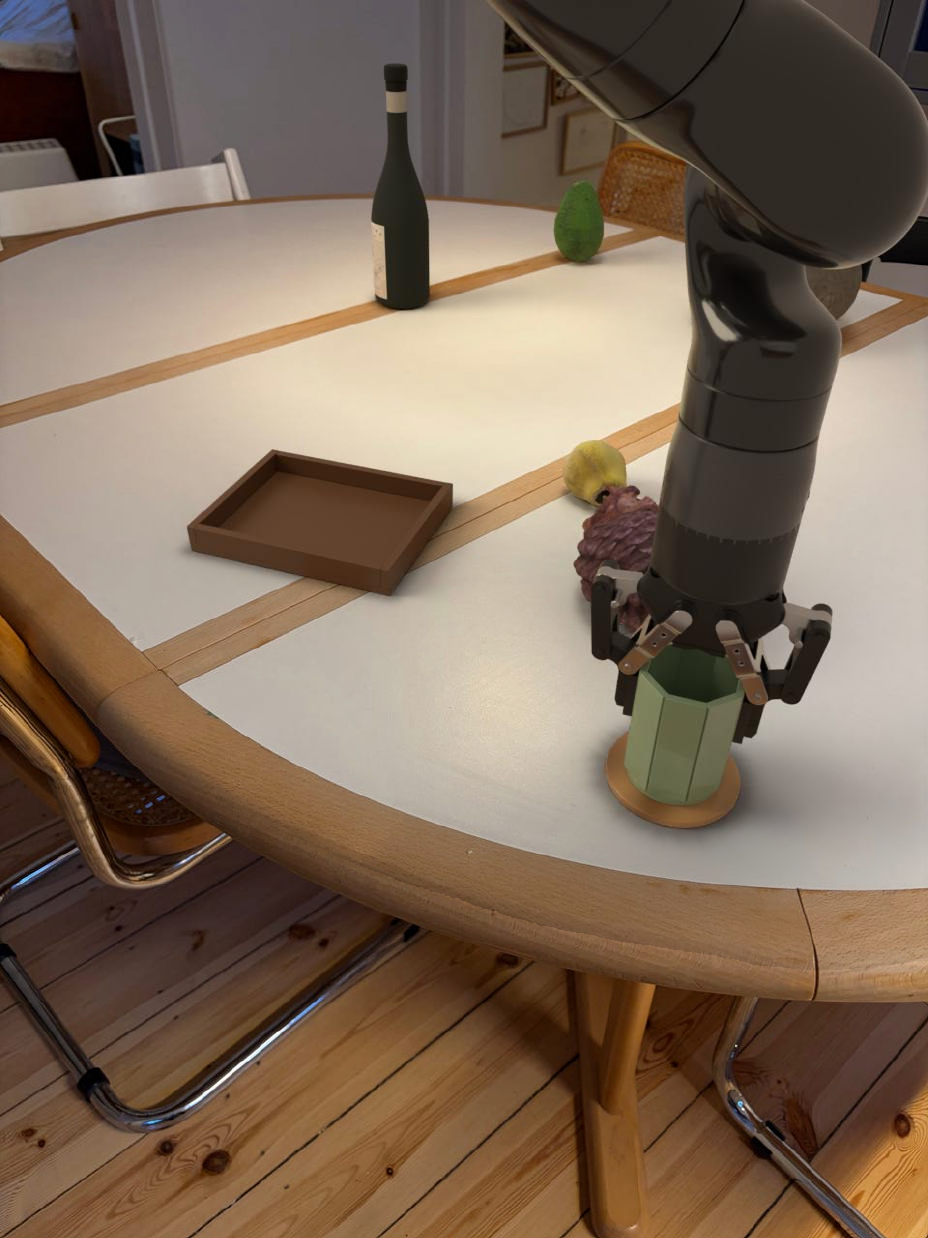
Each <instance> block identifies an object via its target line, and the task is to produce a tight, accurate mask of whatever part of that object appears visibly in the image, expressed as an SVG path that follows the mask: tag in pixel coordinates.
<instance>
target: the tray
mask: <svg viewBox="0 0 928 1238" xmlns="http://www.w3.org/2000/svg"><path fill="white" fill-rule="evenodd" d="M453 507H454V483H452V482H447V481H446V482H445V481H440V480H435V479H430V478H425V477H419V476H414V475H410V474H409V475H408V474H403V473H398V472H393V471H387V470H382V469H377V468H372V467H368V466H362V465H356V464H351V463H346V462H341V461H336V460H330V459H326V458H320V457H315V456H309V455H305V454H299V453H293V452H288V451H283V450H278V449H274V448H272V449H270V450H269V451H268V452H267V453H266V454H265V455H264V456H263V457H262V458H260V460H259V461H257V462H256V463H255V464H254V465H252V467H251V468H249V470H248V471H246V472H245V473H243V475H242V476H241V477H240V478H239V479H237V480H236V481H235V482H234V483H232V485H230V486H229V488H227V489H226V490H225V491H224V492H223V493H222V494H221V495H219V496H218V497H217V498H216V499H215V500H214V501H212V503H211V504H210V505H208V506H207V507H206V508H205V509H204V510H202V512H201V513H199V514H198V516H196V517H195V518H194V519H193V520H192V521H190V523H189V524H188V525H186V530H187V536H188V540H189V545H190V550H191V551H193V552H197V553H202V554H206V555H210V556H214V557H219V558H224V559H228V560H232V561H237V562H241V563H246V564H249V565H255V566H258V567H263V568H268V569H272V570H277V571H281V572H285V573H289V574H294V575H298V576H303V577H307V578H311V579H316V580H319V581H325V582H327V583H332V584H337V585H341V586H347V587H351V588H355V589H360V590H364V591H368V592H371V593H377V594H381V595H384V596H385V595H386V596H391V595H392V593H393V592H394V590H395V589H396V588H397V586H398V585H399V583H400V582H401V581H402V579H403V578H404V576H405V575H406V573H407V572H408V571H409V569H410V568H411V567H412V565H413V564H414V562H415V561H416V559H417V558H418V557H419V555H420V554H421V552H422V551H423V549H424V548H425V546H426V545H427V544H428V542H429V541H430V539H431V538H432V537H433V535H434V534H435V532H436V531H437V529H438V528H439V527H440V526H441V524H442V522H443V521H444V520H445V518H446V517H447V516H448V515H449V513H450V511H451V510H452V509H453Z"/></svg>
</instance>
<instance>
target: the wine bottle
mask: <svg viewBox="0 0 928 1238" xmlns="http://www.w3.org/2000/svg"><path fill="white" fill-rule="evenodd" d="M408 69H409V68H408V66H407V64H404V63H386V64H384V66H383V80H384V83H385V84H384V85H385V102H386V105H385V106H386V126H387V127H386V129H387V142H386V143H387V145H386V153H385V157H384V162H383V165H382V169H381V173H380V176H379V178H378V182H377V185H376V187H375V190H374V191H375V192H374V195H373V200H372V205H371V216H370V217H371V218H370V224H371V243H372V244H371V245H372V246H371V247H372V263H373V264H372V266H373V285H374V297H375V300H376V301H377V302H378V303H379V304H381V305H382V306H384V307H387V308H391V309H397V310H406V309H407V310H409V309H414V308H417V307H420V306H422V305H424V304H425V303H426V302H427V301H428V300H429V298H430V296H431V295H430V294H431V292H430V288H431V286H430V284H431V282H430V278H431V277H430V219H429V211H428V206H427V201H426V197H425V195H424V191H423V189H422V186H421V183H420V180H419V177H418V175H417V171H416V169H415V166H414V163H413V161H412V157H411V152H410V148H409V146H410V145H409V137H408V80H409V71H408Z"/></svg>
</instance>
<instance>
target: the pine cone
mask: <svg viewBox="0 0 928 1238" xmlns="http://www.w3.org/2000/svg"><path fill="white" fill-rule="evenodd" d="M605 489H606V490H608V491H609V493H610V495H609V496H608V497H605V498H604V499H603V504H602V505H600V506H599V505H597V506H598V507H597V509H596V511H595V512H594V514H593V515H591V516H589V517H587V518H586V519H585V520H584V521H583V522H582V525H581V528H582V529H583V532H582V534H583V535H582V536H583V537H582V539H581V540H580V541H579V542H578V543H577V546H576V549H577V551H578V554H579V555H578V556H577V557H576V559H575V560H574V561H573V563H572V565H573V568H574V569H575V572H576V574H577V575H578V576H579V577H580V578H581V579H580V581H579V583H580V585H581V586H580V590H581V592H582V595H583V597H584V599H585V600H586V601H587V602H589V603H591V585H592V583H593V581H594V578H595V576H596V574H597V571H598V569H599V567H600V564H601V563H602V562H603V561H604V560H613V561H615V562H616V563H617V564H618V565H619V569H620V570H626V571H634V572H642V571H643V569H644V568H645V567H646V566H647V565H648V564H649V563H650V558H651V551H652V545H653V539H654V533H655V527H656V520H657V514H658V508H659V503H657V502H656V501H655V500H654V499H653V498H651V497H650V496H647V495H644V496H643V498H642V499H640V498H638V496H640V494H641V490H640V489H639V488H638V487H637V486H636V485H632V484H631V485H627V487H623V488H620V489H618V488H615V487H613V486H610V485H606V487H605ZM648 615H649V613H648V612H647V610H646V608H645V607H644V605H643V603H642V602H641V600H640V599H639V597H638V594H637V593H632V594H630V595H629V596H628V598H627V601H626V603H625V604H624V605H622V606H619V625H624V626H625V627H626V628H627V630H628V631H629V632H630V633H631V634H633V633H634V632H635V631H636V630H637V629H638V628H639V627H640V626H641V625H642V624H643V623H644V621H645V619H646V618H647V616H648Z"/></svg>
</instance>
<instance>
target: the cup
mask: <svg viewBox="0 0 928 1238" xmlns="http://www.w3.org/2000/svg"><path fill="white" fill-rule="evenodd" d="M672 645H673V643H672V642H670V643H669V644H668V645H667V646H666V647H665V648H664V649H663V650H662V651H661V652H660V653H659V654H658V655H657V656H656V657H655V658H653V659H652V658H650V659H649V660H648V661H647V662H646V663H645V664H644V665H643V666H642V667H641V668H640V670H639V676H638V682H637V688H636V694H635V699H634V705H633V711H632V717H631V718H630V723H629V730H628V731H629V735H628V741H627V747H626V753H625V759H624V766H625V768H626V772H627V775H628V777H629V779H630V781H631V782H632V783H633V785H634V786H635V787H636V788H637V789H638V790H639V791H640V792H642V793H643V794H644V795H646V796H647V797H649V798H651V799H653V800H655V801H658V802H661V803H664V804H668V805H675V806H689V805H694V804H698V803H701V802H703V801H705V800H707V799H709V798H710V797H711V796H712V795H713V794H714V793H715V792H716V791H718V789H720V785H721V781H722V778H723V774H724V770H725V766H726V763H727V759H728V755H730V751H731V747H732V744H733V742H732V740H733V736H734V733H735V729H736V725H737V721H738V718H739V714H740V710H741V706H742V703H743V699H744V695H745V691H744V688H743V686H742V683H741V681H740V678H737V677H736V676H735V673H734V671H733V668H732V666H731V663H730V661H729V658H728V656H727V655H725V658H721V657H716V656H712V655H709V654H707V653H705V652H703V651H700V650H687V649H681V648H676V647H672Z"/></svg>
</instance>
